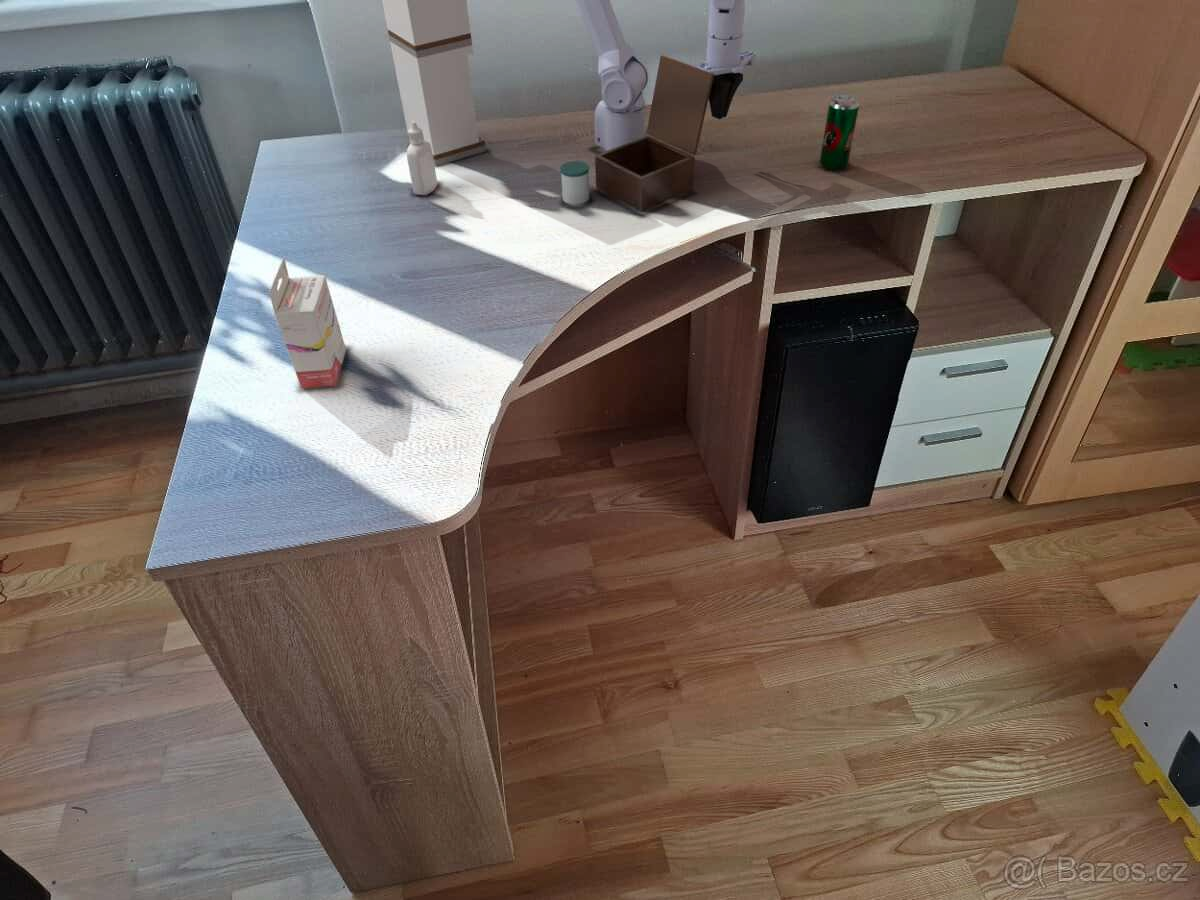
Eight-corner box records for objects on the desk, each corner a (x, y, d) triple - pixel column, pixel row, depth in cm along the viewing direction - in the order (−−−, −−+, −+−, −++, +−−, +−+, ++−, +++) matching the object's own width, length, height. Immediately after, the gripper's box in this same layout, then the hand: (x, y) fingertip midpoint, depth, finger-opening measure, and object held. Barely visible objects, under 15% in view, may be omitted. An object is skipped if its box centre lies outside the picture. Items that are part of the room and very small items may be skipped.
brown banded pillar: (485, 151, 156) (458, -59, 132) (435, 166, 152) (398, -48, 128) (458, 131, 163) (428, -72, 139) (410, 145, 159) (370, -61, 135)
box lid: (711, 73, 129) (714, 73, 130) (660, 54, 136) (663, 54, 137) (693, 155, 137) (696, 154, 137) (646, 133, 143) (648, 133, 144)
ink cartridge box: (339, 387, 106) (307, 290, 96) (300, 389, 106) (264, 293, 96) (348, 347, 112) (319, 252, 102) (311, 350, 112) (279, 255, 102)
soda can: (847, 172, 146) (860, 104, 137) (818, 170, 146) (830, 103, 138) (847, 160, 149) (860, 93, 141) (819, 158, 150) (830, 91, 142)
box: (641, 216, 136) (641, 179, 132) (595, 191, 143) (594, 155, 139) (692, 193, 142) (694, 157, 137) (646, 170, 148) (647, 135, 144)
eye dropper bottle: (445, 187, 146) (434, 120, 138) (420, 198, 143) (406, 130, 135) (431, 179, 148) (419, 113, 140) (405, 190, 145) (392, 123, 137)
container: (556, 201, 141) (554, 166, 137) (578, 192, 143) (576, 158, 139) (573, 211, 138) (572, 176, 134) (595, 202, 140) (594, 167, 136)
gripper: (711, 50, 129) (705, 134, 139) (772, 29, 136) (763, 111, 145) (680, 40, 133) (677, 122, 143) (741, 20, 140) (735, 100, 149)
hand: (719, 116), depth 144 cm, fingers closed
